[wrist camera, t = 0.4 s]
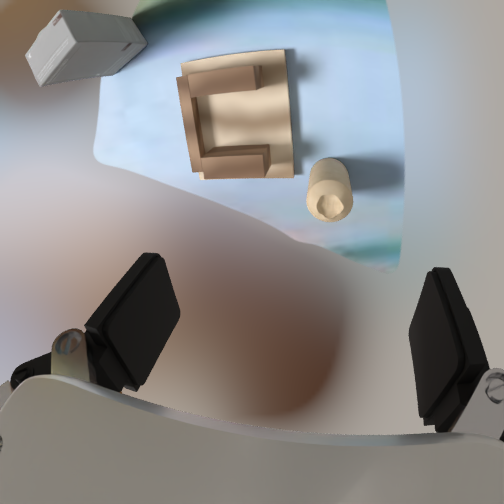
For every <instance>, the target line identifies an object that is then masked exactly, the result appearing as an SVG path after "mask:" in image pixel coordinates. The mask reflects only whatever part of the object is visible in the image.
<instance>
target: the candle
mask: <svg viewBox="0 0 504 504" xmlns="http://www.w3.org/2000/svg"><path fill="white" fill-rule="evenodd" d="M307 206H308V209H309V211H310V212H311V214H312V215H313V216H315V217H316V218H317V219H319V220H322V221H325V222H335V221H339V220H341V219H343V218H345V217H346V216H347V215H348V214H349V213H350V211H351V209H352V206H353V196H352V190H351V185H350V180H349V175H348V171H347V169H346V167H345V166H344V165H343V164H342V163H341V162H340V161H338V160H336V159H333V158H324V159H321V160H319V161H318V162H316V163H315V164H314V166H313V167H312V169H311V172H310V178H309V185H308V192H307Z"/></svg>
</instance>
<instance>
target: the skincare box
mask: <svg viewBox="0 0 504 504" xmlns="http://www.w3.org/2000/svg"><path fill="white" fill-rule="evenodd" d="M147 44H148V43H147V42H146V40H145V39H144V37H143V36H142V34H141V33H140V31H139V29H138V28H137V26H136V25H135V23H134V22H133V20H132V19H131V18H128V17H123V16H116V15H109V14H102V13H93V12H83V11H71V10H59V11H58V13H57V14H56V15H55V16H54V17H53V19H52V20H51V21H50V22H49V24H48V25H47V26H46V27H45V28H44V29H43V30H42V31H40V33H39V35H38V37H37V39H36V41H35V42H34V44H33V45H32V46H31V48H30V49H29V51H28V52H27V54H26V58H27V60H28V62H29V65H30V67H31V69H32V71H33V74H34V76H35V78H36V80H37V82H38V84H39V86H40V87H42V86H46V85H51V84H56V83H62V82H68V81H73V80H80V79H87V78H94V77H103V76H112V75H114V74H115V73H116V72H117V71H118V70H120V69H121V68H122V67H123V66H124V65H125V64H126V63H128V62H129V61H130V60H131V59H132V58H133V57H134V56H136V55H137V54H138V53H139V52H140V51H141V50H142V49H143V48H144V47H145V46H147Z"/></svg>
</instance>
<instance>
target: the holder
mask: <svg viewBox="0 0 504 504" xmlns="http://www.w3.org/2000/svg"><path fill="white" fill-rule="evenodd" d="M181 69H182V77H177V78H176V80H177V86H178V92H179V99H180V105H181V111H182V117H183V123H184V128H185V134H186V140H187V145H188V151H189V156H190V161H191V167H192V172H199V177H200V180H210V179H241V178H294V159H293V142H292V127H291V113H290V100H289V88H288V76H287V66H286V55H285V50H284V49H283V50H268V51H257V52H247V53H239V54H231V55H224V56H218V57H212V58H206V59H200V60H195V61H190V62H185V63H181Z"/></svg>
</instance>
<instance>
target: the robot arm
mask: <svg viewBox="0 0 504 504" xmlns="http://www.w3.org/2000/svg"><path fill="white" fill-rule="evenodd" d="M179 318H180V308H179V305H178V302H177V299H176V296H175V293H174V290H173V286H172V283H171V280H170V277H169V273H168V270H167V267H166V263H165V260H164V259H163V258H162V257H161V256H160V255H159V254H158V253H143V254H142V255H141V256H140V257H139V258H138V260H137V261H136V262H135V263H134V264H133V265H132V267H131V268H130V269H129V270H128V271H127V273H126V274H125V275H124V276H123V277H122V278H121V280H120V281H119V282H118V283H117V285H116V286H115V287H114V288H113V289H112V291H111V292H110V293H109V294H108V296H107V297H106V298H105V299H104V301H103V302H102V303H101V304H100V306H99V307H98V308H97V310H96V311H95V312H94V313H93V314H92V316H91V317H90V319H89V320H88V321H87V323H86V324H85V325H84V326H85V328H86V329H87V330H86V332H85V333H84V332H83V331H82V330H80V329H77V328H72V329H68V330H66V331H64V332H62V333H61V334H59V335H58V336H57V338H56V339H55V340H54V342H53V344H52V351H51V352H50V353H48V354H45V355H42V356H40V357H38V358H35V359H33V360H30V361H28V362H25V363H23V364H21V365H20V366H18V367H17V368H16V369H15V370H14V372H13V374H12V376H11V381H10V382H9V381H7V382H5V383H3V384H2V385H1V386H0V504H504V370H503V369H499V368H493V369H490V368H489V364H488V361H487V358H486V355H485V351H484V349H483V346H482V342H481V340H480V337H479V334H478V331H477V328H476V326H475V323H474V320H473V318H472V315H471V313H470V311H469V309H468V308H467V306H466V304H465V301H464V299H463V297H462V294H461V292H460V290H459V288H458V285H457V283H456V280H455V278H454V276H453V274H452V272H451V270H450V269H449V268H441V267H434V268H433V269H432V271H429V272H428V273H427V276H426V279H425V282H424V286H423V289H422V292H421V295H420V298H419V301H418V304H417V307H416V310H415V313H414V316H413V319H412V322H411V325H410V328H409V341H410V346H411V353H412V360H413V366H414V374H415V382H416V390H417V400H418V411H419V416H420V418H423V420H424V426H427V425H435V431H436V433H424V434H406V435H405V434H404V435H341V434H340V435H339V434H322V433H309V432H297V431H288V430H280V429H272V428H264V427H258V426H251V425H245V424H239V423H233V422H228V421H223V420H218V419H213V418H209V417H204V416H200V415H195V414H191V413H187V412H183V411H179V410H175V409H171V408H168V407H164V406H161V405H157V404H154V403H150V402H147V401H144V400H140V399H137V398H134V397H131V396H128V395H125V394H122V389H123V387H125V388H126V389H129V390H132V391H135V392H137V391H138V389H139V387H140V385H143V384H144V383H145V382H146V380H147V377H148V376H149V374H150V372H151V370H152V368H153V367H154V365H155V363H156V361H157V359H158V357H159V355H160V353H161V352H162V350H163V348H164V346H165V344H166V342H167V340H168V338H169V337H170V335H171V333H172V331H173V329H174V328H175V326H176V324H177V322H178V320H179Z"/></svg>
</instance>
